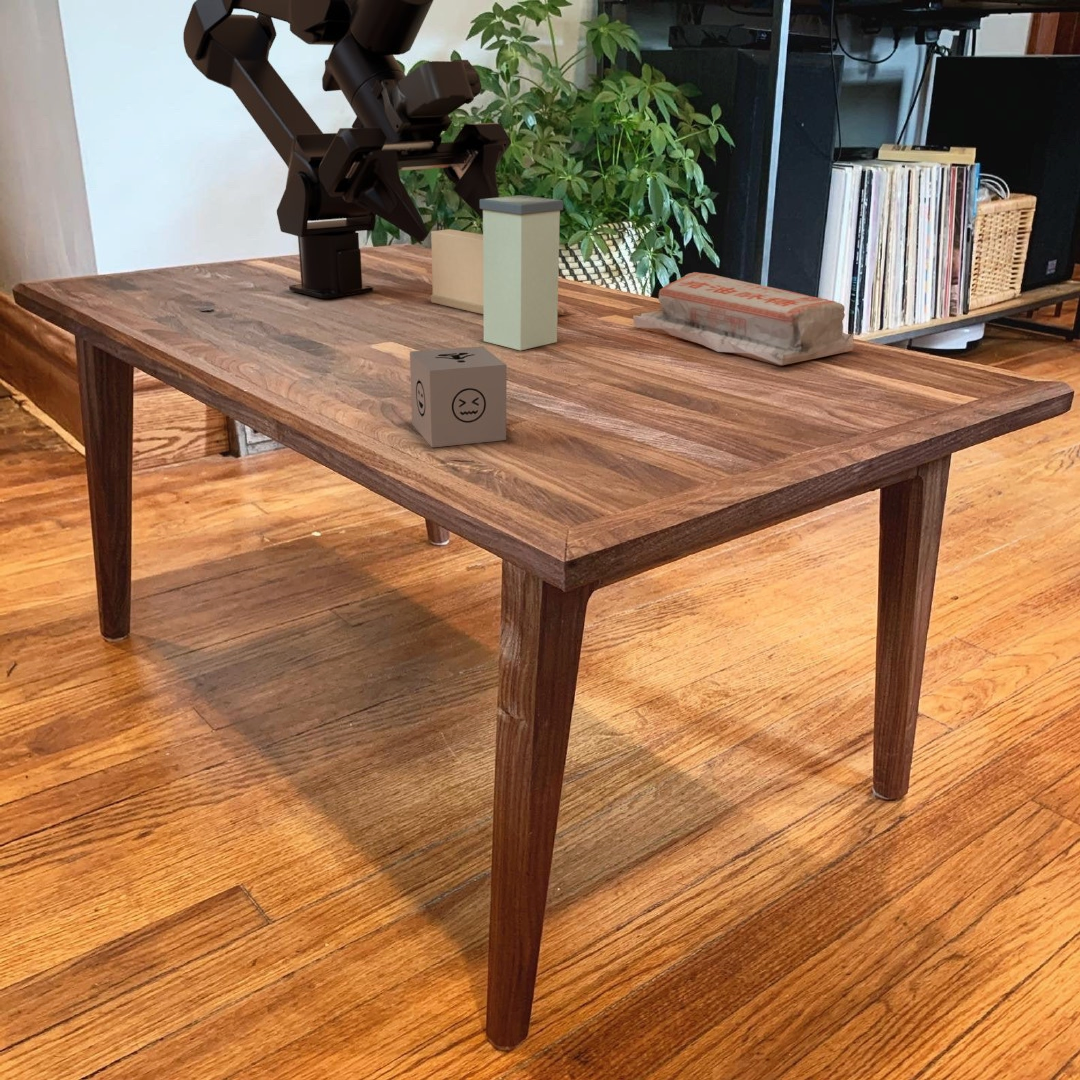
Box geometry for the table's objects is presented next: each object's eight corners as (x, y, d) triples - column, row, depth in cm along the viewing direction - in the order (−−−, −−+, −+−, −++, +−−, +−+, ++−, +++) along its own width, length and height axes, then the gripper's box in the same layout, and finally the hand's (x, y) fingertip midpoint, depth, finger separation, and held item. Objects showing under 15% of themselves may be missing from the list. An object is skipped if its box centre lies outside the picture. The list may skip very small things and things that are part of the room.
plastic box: (480, 341, 95) (479, 199, 90) (520, 332, 98) (521, 194, 93) (520, 351, 91) (521, 204, 87) (560, 342, 95) (563, 200, 90)
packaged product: (865, 296, 91) (788, 310, 85) (857, 352, 93) (781, 370, 87) (709, 265, 104) (633, 276, 98) (705, 315, 106) (630, 328, 100)
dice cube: (482, 417, 74) (482, 346, 72) (506, 439, 70) (506, 364, 68) (412, 424, 73) (409, 351, 71) (431, 447, 68) (429, 370, 66)
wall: (430, 302, 109) (428, 231, 107) (466, 295, 113) (466, 227, 110) (521, 323, 101) (522, 247, 98) (557, 315, 105) (559, 241, 102)
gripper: (330, 20, 86) (424, 177, 83) (497, 28, 98) (583, 165, 96) (281, 121, 94) (366, 267, 92) (441, 116, 106) (519, 244, 104)
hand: (463, 233), depth 96 cm, fingers open, 9 cm apart
